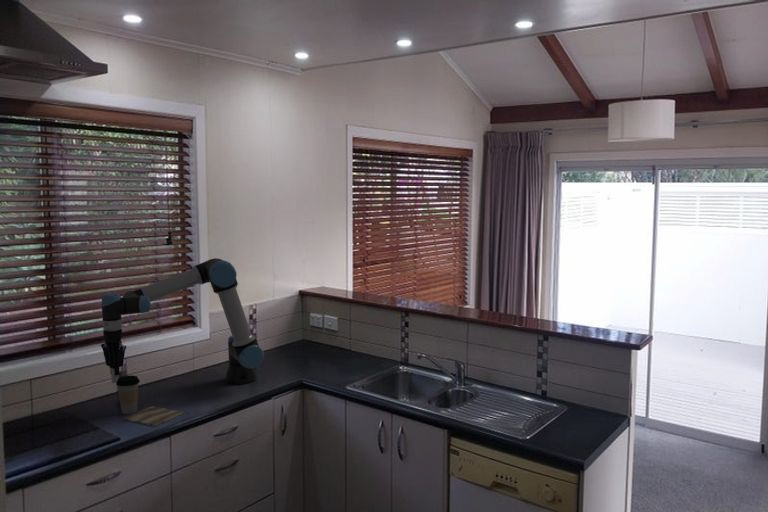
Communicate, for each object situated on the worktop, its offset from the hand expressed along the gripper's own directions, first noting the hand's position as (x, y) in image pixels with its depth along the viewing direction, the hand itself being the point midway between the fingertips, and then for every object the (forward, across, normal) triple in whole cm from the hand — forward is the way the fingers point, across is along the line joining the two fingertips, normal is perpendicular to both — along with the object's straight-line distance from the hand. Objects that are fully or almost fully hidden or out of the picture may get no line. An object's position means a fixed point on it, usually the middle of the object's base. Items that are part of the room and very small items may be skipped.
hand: (115, 382), depth 273 cm
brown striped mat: (+12, +22, 0) cm, 25 cm away
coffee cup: (+13, +8, 0) cm, 15 cm away
